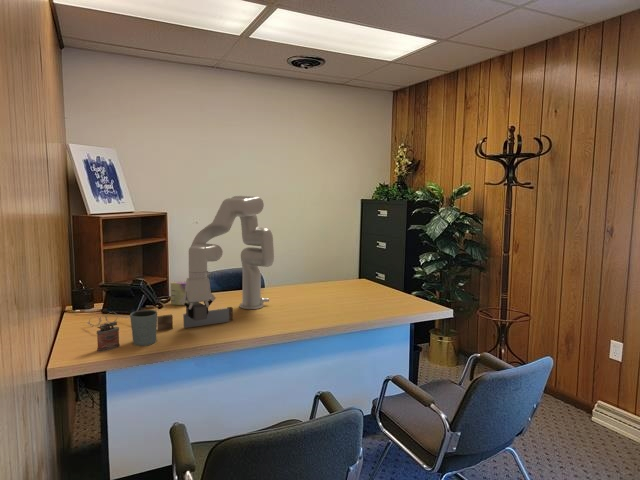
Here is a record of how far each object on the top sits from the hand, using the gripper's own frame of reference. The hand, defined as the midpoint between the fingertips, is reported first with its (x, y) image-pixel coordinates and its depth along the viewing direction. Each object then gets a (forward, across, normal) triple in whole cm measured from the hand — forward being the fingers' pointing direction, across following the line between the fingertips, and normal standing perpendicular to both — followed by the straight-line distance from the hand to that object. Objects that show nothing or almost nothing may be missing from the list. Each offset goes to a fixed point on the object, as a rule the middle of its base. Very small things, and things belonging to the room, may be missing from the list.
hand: (198, 316), depth 183 cm
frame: (+7, -2, -11) cm, 13 cm away
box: (+7, -5, -50) cm, 50 cm away
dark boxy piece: (+1, 0, -2) cm, 2 cm away
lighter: (+8, +35, +2) cm, 36 cm away
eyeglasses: (+8, +31, -23) cm, 39 cm away
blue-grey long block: (+7, -6, -9) cm, 13 cm away
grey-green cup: (+7, +22, +2) cm, 23 cm away
